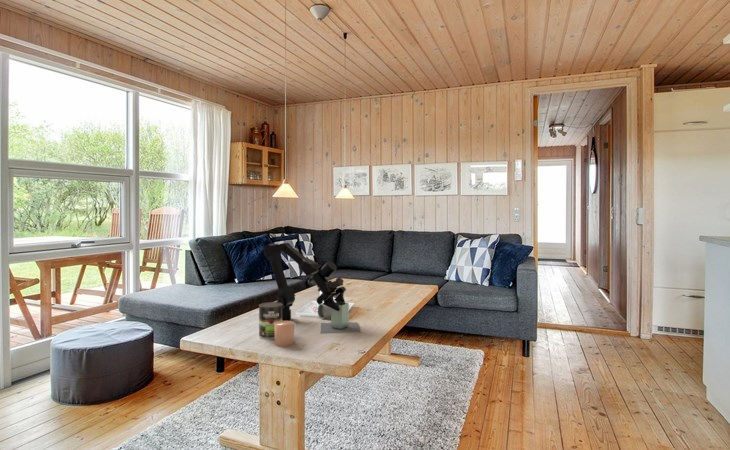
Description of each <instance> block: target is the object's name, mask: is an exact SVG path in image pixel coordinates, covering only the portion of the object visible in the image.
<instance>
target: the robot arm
mask: <svg viewBox="0 0 730 450" xmlns="http://www.w3.org/2000/svg"><path fill="white" fill-rule="evenodd" d="M282 252H283V253H284V254H286V255H287V256H288V257H289V258H291V259H292V260H293V261H294V262H295V263H296V264H298V266H299V268H300V270H301V271H302V273H304V275H307V276H309V275H312V276H309V279H308V283H310V284H311V283H314V284H315V286H316V287H317V291H318V292H321V294H320V295H319V296H318V297H317V298H316V303H317V305H318V306H319V305H320V304H323V305H326V306H328V307H330V308H332V309H334V310H336V311H339V308H338V306H337V305H336V303H335V302H345V303H346V301H345V298H344V294H345V292H346V290H347V289H346V287H345V286H344V280H343V278H341V277H338V278H335V280H334V281H332V280H328V278H329V277H331V276H332V275H333V273H335V272H336V270H337V269H338V268H337V267H338V266H337V265H336V264H335V263H334V262H333V261H330V260H329V259H325V260H324V261H323V263H322V264H319V263H317V262H316V261H315V260H313V259H310V258H307V257H306V256H304V255H303V254H302V253H301V252H299V251H298V250H297V249H296V248H295V247H293V246H292V245H291V243H290V242H282V243H278V244H277V243H270V244H266V245H265V246H264V247H263V254H264V256H265V258H266V259H267V260H268V261H269V262H270V265H271V268H272V273H273V274H274V278H275V283H276V285H277V288H278V291H277V295H276V296H277V300H276V301H275V302H279V303H282V304H283V306H282V321H291V318H292V309H291V307H292V306H293V304H294V303H295V300H296V294H295V291H294V288H290V286H289V285H288V282H287V279H286V275H285V272H284V269H283V265H282V261H281V257H282Z"/></svg>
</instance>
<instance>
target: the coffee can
mask: <svg viewBox="0 0 730 450" xmlns="http://www.w3.org/2000/svg"><path fill="white" fill-rule="evenodd" d="M282 306H283V304H282V303H279V302H276V301H268V302H263V303H259V305H258V312H259V313H258V322H259V323H258V331H259V332H258V337H259V338H260V339H275V333H274V324H275V323H276V322H278V321H282Z"/></svg>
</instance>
